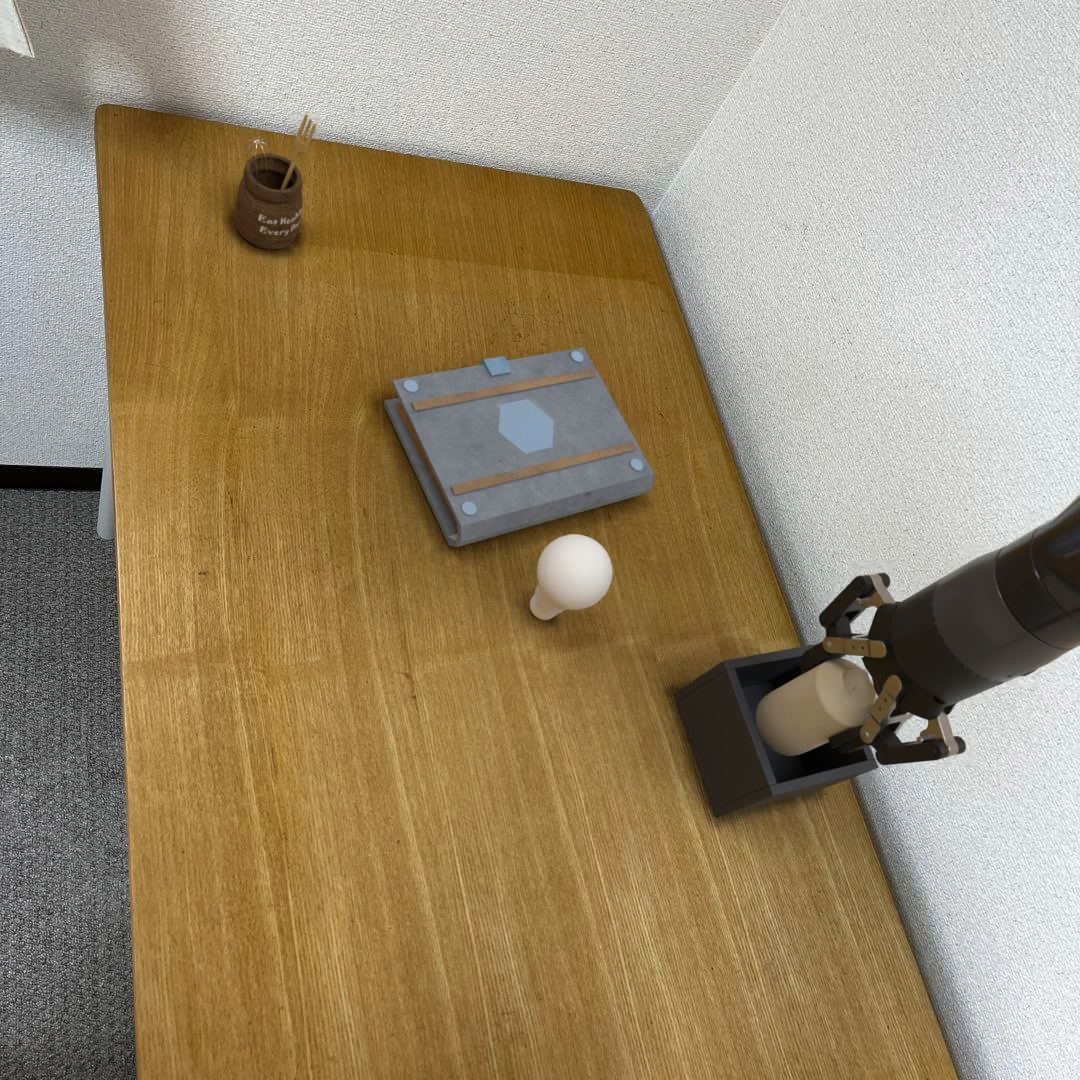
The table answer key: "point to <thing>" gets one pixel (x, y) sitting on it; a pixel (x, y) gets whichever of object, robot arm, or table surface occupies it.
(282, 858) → the table surface
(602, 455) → the book
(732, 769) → the bin
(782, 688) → the candle
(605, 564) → the lightbulb
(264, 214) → the utensil holder
